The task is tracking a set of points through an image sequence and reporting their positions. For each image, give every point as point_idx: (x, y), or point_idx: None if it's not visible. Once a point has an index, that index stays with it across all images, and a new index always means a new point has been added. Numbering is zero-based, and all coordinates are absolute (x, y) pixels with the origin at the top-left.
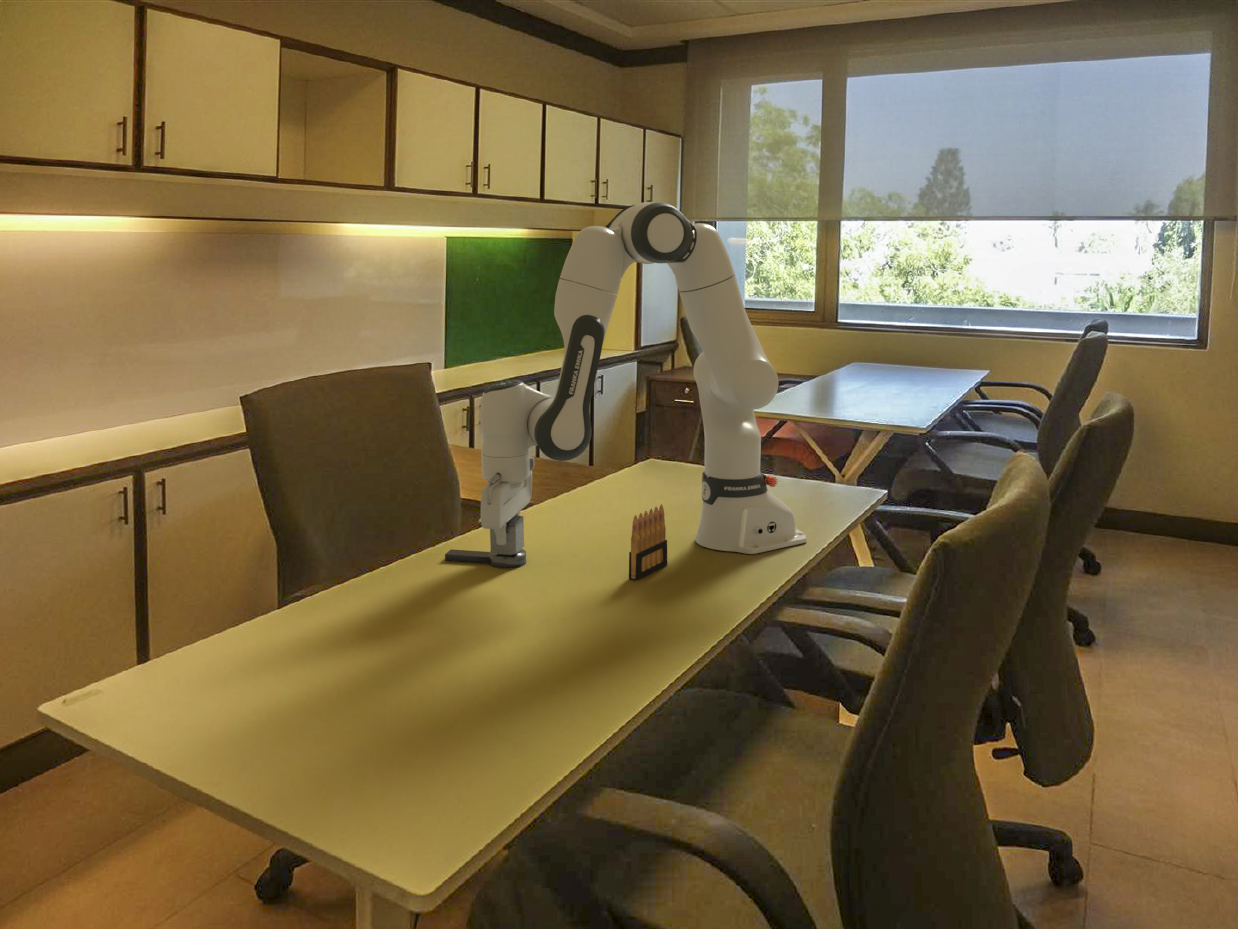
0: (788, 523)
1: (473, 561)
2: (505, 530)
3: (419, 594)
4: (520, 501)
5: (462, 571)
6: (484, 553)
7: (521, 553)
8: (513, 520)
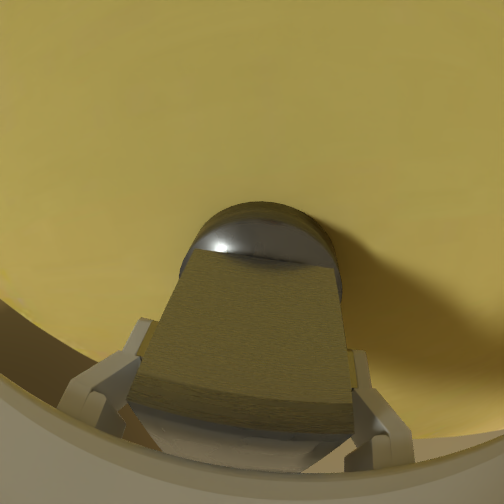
0: None
1: None
2: (382, 417)
3: (461, 378)
4: (83, 498)
5: None
6: None
7: (264, 243)
8: (267, 443)
